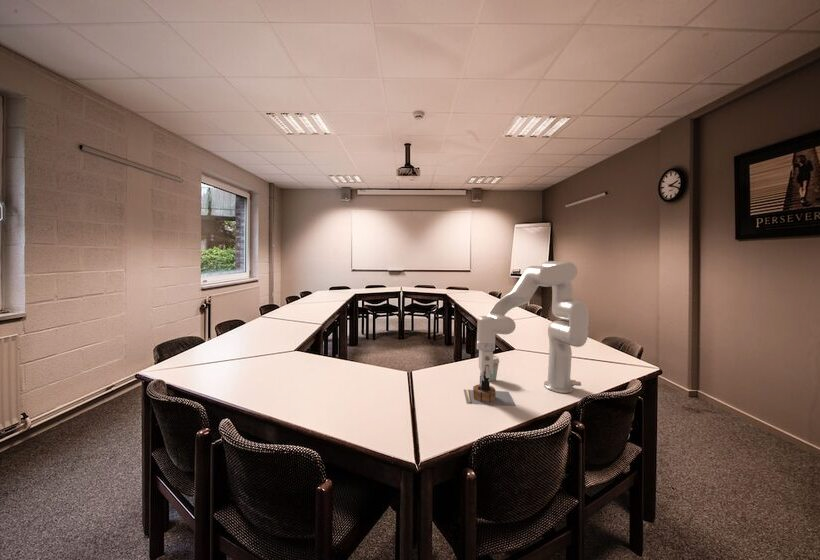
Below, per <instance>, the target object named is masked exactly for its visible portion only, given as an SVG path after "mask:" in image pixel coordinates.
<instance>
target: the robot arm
mask: <svg viewBox="0 0 820 560" xmlns="http://www.w3.org/2000/svg"><path fill="white" fill-rule="evenodd" d="M577 275H578V267H577V266H576V264H575V263H573V262H570V261H558V260H549V261H545V262H543V263H542V264H541V265H530V266H528V267H526V269H525V270H524V271H523V272H522V274H521V276H520V277H519V279H518V280H517V281H516V283H515V284H514V286H513V287H512V289H511V290H510V291H509V292H508V293H507V294H506V295H504V296H503V297H501V298H500V299H499V300H498V301H496V303H495V304H494V305H493V306H492V308H491V309H490V311H489V312H488V313H487V315H482V316H479V317H478V318H477V327H476V328H477V329H476V350H478V368H479V371H480V373H479V375H480V376H479V380H480V379H481V373H482V384H481V389H482V390H489V386H490V383H491V382H490V381H489V372H490V374H491V375H493V355H494V351H495V349H496V335H497V334H498V335H510V334H512V333H513V332H514V331H515V330H516V322H515V320H514V319H513V318H511V317H509V316H506V314H507V313H508V312H509V311H510V310H513V309H514V308H517V307H521V306H524V305H526V304H528V303H529V302H530V301H531V299H532V298H533V296H534V294H535V292H536V291H537V289H538V288H539V286H540V287H547V288H548V287H551V291H552V294H551V297H552V298H551V300H552V301H551V311H552V314H553V316H555V317H556V318H557V319H561V320H555V321H552V322H551V323H550V324H549V326H548V327H547V337H548V344H549V346H548V347H549V348H548V349H549V350H548V367H547V368H548V369H547V372H548V373H547V380H545V381H544V383H543V386H544V387H545V388H546V389H547V390H549V391H552V392H555V393H560V394H561V393H562V394H569V393H573V392H574V387H575V386H576V387H577V386H578V387H581V386H582V382H581V381H576V379H571V372H572V371H571V370H572V369H571V368H572V356H573V352H572V347H575V348H581V347H583V346H584V345H586V343H587V341H588V337H589V322H590V321H589V318H590V315H589V314H590V313H589V312H590V311H589V308H588V306H587V305H586V303H585V302H583V301H580V300H575V299H574V290H573V289H574V288H573V285H572V281H573V280H574V279H576V278H577ZM562 320H565V321H562ZM568 321H569V322H568ZM484 372H485V373H484ZM484 375H485V376H484Z"/></svg>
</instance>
